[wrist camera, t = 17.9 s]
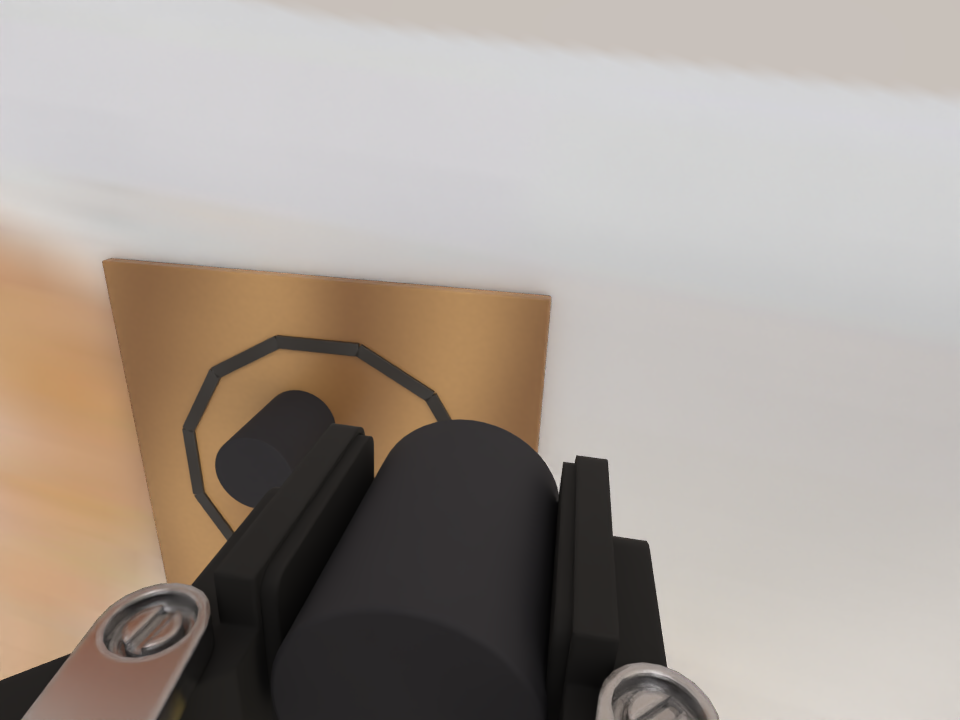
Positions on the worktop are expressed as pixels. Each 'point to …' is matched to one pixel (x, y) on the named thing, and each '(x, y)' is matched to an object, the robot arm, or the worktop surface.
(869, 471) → the worktop surface
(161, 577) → the worktop surface
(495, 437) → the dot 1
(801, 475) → the worktop surface
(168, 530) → the board
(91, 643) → the robot arm
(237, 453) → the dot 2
